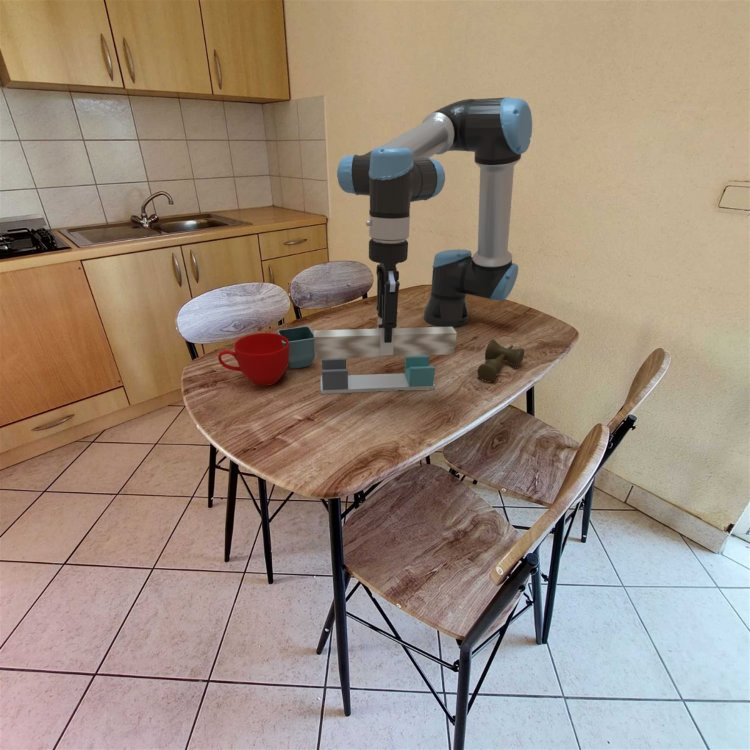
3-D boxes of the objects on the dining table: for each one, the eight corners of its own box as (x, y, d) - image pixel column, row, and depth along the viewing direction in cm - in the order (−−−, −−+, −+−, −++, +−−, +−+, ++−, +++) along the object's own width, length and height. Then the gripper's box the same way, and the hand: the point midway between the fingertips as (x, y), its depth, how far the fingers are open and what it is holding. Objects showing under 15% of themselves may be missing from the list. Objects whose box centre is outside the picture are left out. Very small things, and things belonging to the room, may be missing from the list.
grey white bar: (449, 347, 97) (452, 326, 95) (454, 354, 94) (456, 333, 92) (314, 351, 94) (313, 330, 91) (314, 359, 91) (313, 337, 88)
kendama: (466, 378, 114) (494, 350, 128) (502, 390, 109) (527, 359, 124) (469, 358, 111) (498, 331, 125) (506, 369, 106) (531, 340, 121)
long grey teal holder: (428, 375, 113) (430, 355, 111) (434, 389, 107) (437, 367, 104) (320, 379, 110) (319, 358, 107) (320, 393, 104) (319, 371, 101)
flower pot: (285, 374, 112) (282, 342, 108) (279, 359, 120) (276, 329, 115) (318, 368, 115) (317, 337, 111) (310, 355, 123) (308, 325, 118)
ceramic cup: (222, 372, 113) (217, 336, 108) (288, 365, 117) (286, 330, 112) (221, 397, 102) (215, 359, 97) (294, 388, 106) (292, 351, 101)
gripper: (364, 230, 89) (363, 335, 101) (374, 249, 75) (372, 369, 86) (400, 230, 90) (395, 334, 101) (417, 248, 76) (409, 367, 87)
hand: (385, 350), depth 94 cm, fingers closed on grey white bar, 3 cm apart
